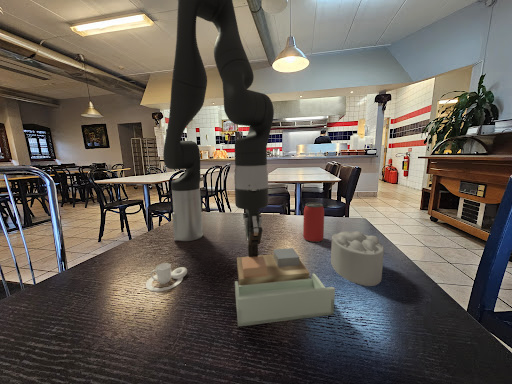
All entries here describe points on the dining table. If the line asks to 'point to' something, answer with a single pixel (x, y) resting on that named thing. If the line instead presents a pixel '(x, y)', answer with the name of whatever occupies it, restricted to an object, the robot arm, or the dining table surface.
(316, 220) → the beer can
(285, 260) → the slate tile
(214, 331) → the dining table surface
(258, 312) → the tray
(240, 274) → the board
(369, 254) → the lumpy-topped squat cylinder
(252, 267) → the terracotta tile
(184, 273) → the teacup and saucer
